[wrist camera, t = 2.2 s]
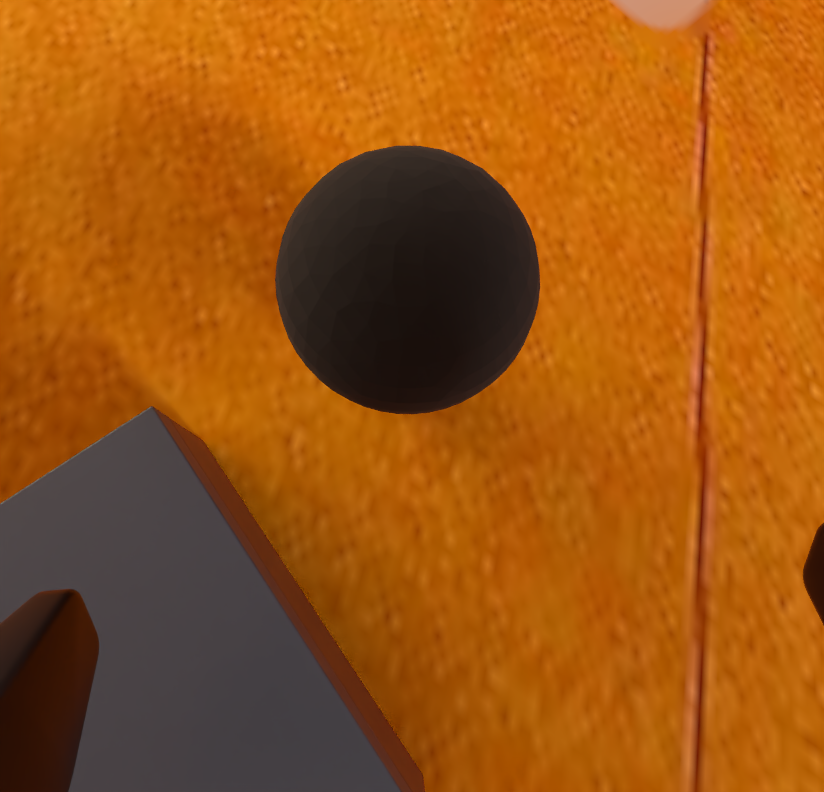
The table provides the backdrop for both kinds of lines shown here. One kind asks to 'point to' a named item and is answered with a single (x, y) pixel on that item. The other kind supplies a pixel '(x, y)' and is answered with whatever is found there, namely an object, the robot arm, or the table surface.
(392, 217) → the light bulb
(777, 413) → the table surface
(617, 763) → the table surface
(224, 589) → the dark grey slab
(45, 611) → the robot arm
